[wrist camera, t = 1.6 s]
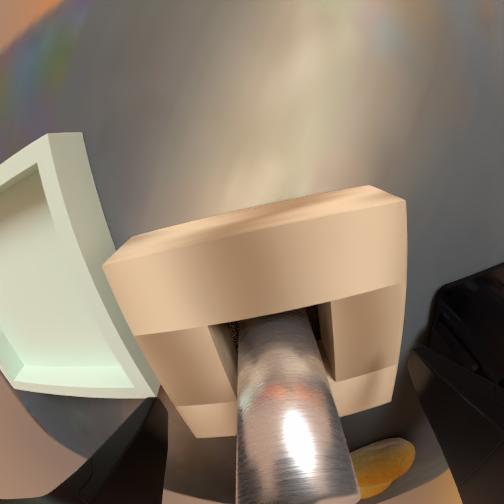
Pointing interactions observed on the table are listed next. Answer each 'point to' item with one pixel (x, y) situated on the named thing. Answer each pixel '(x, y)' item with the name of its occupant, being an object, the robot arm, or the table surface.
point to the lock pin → (288, 418)
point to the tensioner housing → (269, 296)
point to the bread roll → (381, 464)
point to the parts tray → (61, 280)
